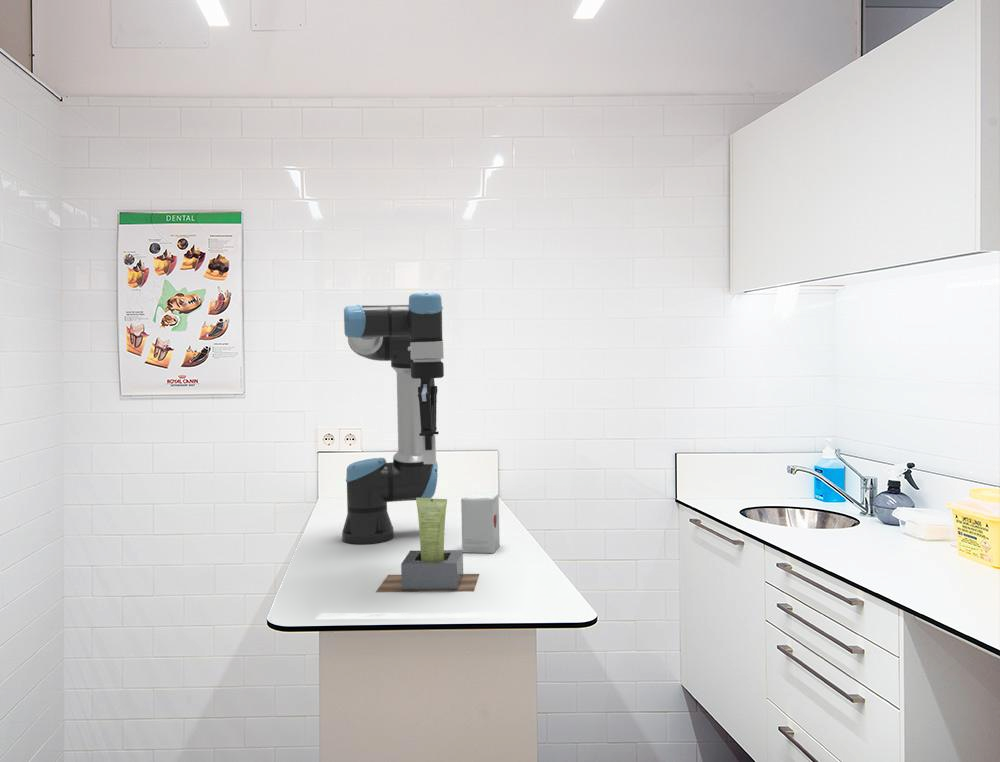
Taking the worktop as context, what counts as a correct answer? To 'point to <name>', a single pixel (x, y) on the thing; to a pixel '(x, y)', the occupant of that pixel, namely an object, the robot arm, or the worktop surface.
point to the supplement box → (480, 522)
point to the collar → (432, 571)
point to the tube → (431, 527)
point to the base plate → (395, 585)
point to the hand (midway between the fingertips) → (429, 463)
